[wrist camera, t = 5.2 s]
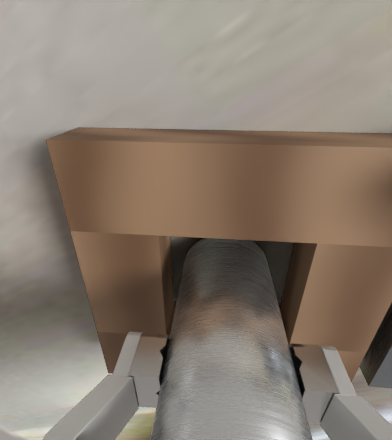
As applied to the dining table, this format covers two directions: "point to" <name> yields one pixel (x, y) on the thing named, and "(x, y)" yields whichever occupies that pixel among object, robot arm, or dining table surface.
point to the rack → (380, 355)
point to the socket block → (231, 223)
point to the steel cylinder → (228, 352)
